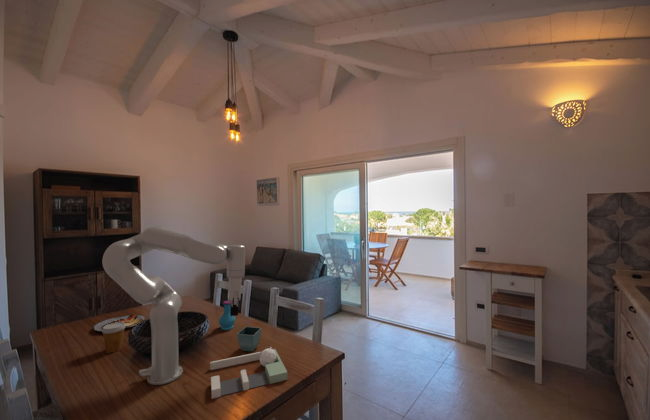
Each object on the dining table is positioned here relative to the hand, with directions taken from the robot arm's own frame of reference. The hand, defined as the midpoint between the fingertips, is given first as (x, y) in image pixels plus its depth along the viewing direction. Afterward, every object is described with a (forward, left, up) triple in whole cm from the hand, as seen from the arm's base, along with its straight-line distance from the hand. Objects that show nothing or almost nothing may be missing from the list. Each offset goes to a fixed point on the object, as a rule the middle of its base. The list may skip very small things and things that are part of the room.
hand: (234, 315), depth 123 cm
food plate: (-58, +74, -22) cm, 96 cm away
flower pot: (+8, +12, -22) cm, 26 cm away
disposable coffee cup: (-53, +39, -22) cm, 69 cm away
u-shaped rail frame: (+4, -10, -22) cm, 24 cm away
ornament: (+13, -7, -22) cm, 27 cm away
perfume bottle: (0, +44, -22) cm, 49 cm away
